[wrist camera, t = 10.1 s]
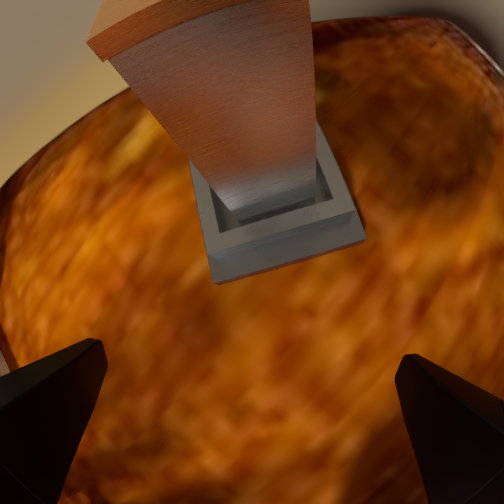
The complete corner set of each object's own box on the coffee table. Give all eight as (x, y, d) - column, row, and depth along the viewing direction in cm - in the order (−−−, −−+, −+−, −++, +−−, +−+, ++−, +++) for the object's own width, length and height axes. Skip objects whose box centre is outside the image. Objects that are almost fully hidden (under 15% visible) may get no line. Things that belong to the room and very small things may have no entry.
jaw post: (317, 201, 18) (309, -38, 3) (239, 226, 18) (85, 42, 4) (291, 138, 19) (248, -64, 5) (222, 161, 19) (110, -15, 5)
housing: (363, 242, 18) (488, 34, 2) (219, 284, 19) (-15, 201, 4) (276, 54, 22) (241, -85, 7) (180, 85, 24) (103, -36, 8)
